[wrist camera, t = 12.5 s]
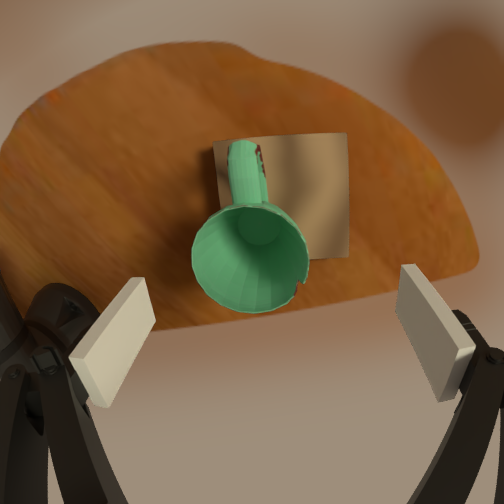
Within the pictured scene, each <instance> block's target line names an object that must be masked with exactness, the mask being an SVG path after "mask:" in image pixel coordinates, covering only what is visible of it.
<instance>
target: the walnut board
mask: <svg viewBox="0 0 504 504" xmlns="http://www.w3.org/2000/svg"><path fill="white" fill-rule="evenodd" d="M240 140H247V141H250V142H253V143H255V144H258V145H260V148H261V153H262V158H263V163H264V169H265V176H266V184H267V193H268V201H269V203H271V204H274V205H276V206H278V207H279V208H280V209H281V210H283V211H284V212H285V213H286V214H287V215H288V216H289V217H290V218H291V219H292V220H293V221H294V222H295V223H296V224H297V226H298V228H299V229H300V231H301V233H302V234H303V236H304V238H305V240H306V243H307V248H308V253H309V258H310V259H324V258H342V257H349V170H348V146H347V133H315V134H294V135H278V136H264V137H252V138H242V139H232V140H223V141H214V142H213V150H214V158H215V167H216V175H217V183H218V191H219V199H220V207H221V209H223V208H224V207H226V206H229V205H233V203H232V197H231V190H230V183H229V176H228V167H227V152H228V146H229V145H230V144H232V143H233V142H236V141H240Z"/></svg>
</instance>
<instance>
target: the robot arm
mask: <svg viewBox="0 0 504 504" xmlns="http://www.w3.org/2000/svg"><path fill="white" fill-rule="evenodd" d="M0 271H1V270H0ZM395 312H396V314H397V316H398V318H399V320H400V322H401V324H402V326H403V328H404V330H405V332H406V334H407V336H408V338H409V340H410V342H411V344H412V346H413V348H414V350H415V352H416V354H417V356H418V359H419V361H420V363H421V365H422V367H423V369H424V372H425V374H426V376H427V378H428V380H429V383H430V385H431V387H432V390H433V392H434V394H435V396H436V399H437V401H438V402H443V401H447V400H451V399H454V398H455V396H456V394H457V391H458V389H460V391H461V393H462V398H461V400H460V402H459V404H458V406H457V408H456V410H455V412H454V413H455V414H454V416H453V418H452V421H451V423H450V425H449V427H448V430H447V432H446V434H445V436H444V438H443V440H442V442H441V444H440V446H439V448H438V450H437V452H436V454H435V456H434V458H433V460H432V462H431V464H430V466H429V467H428V469H427V471H426V473H425V475H424V476H423V478H422V480H421V481H420V483H419V485H418V486H417V488H416V490H415V491H414V493H413V495H412V496H411V498H410V500H409V501H408V503H407V504H465V502H466V500H467V498H468V495H469V493H470V491H471V489H472V487H473V484H474V482H475V479H476V477H477V475H478V472H479V469H480V467H481V464H482V462H483V459H484V456H485V453H486V451H487V448H488V445H489V442H490V439H491V435H492V432H493V429H494V426H495V422H496V419H497V415H498V411H499V408H500V412H501V413H500V414H501V422H500V423H501V424H500V425H501V427H500V452H499V466H498V476H497V485H496V493H495V499H494V504H504V352H503V351H502V350H500V349H498V348H493V347H489V345H488V344H487V343H486V341H485V340H484V338H483V337H482V336H481V334H480V333H479V331H478V330H477V329H476V327H475V326H474V325H473V324H472V322H471V321H470V319H469V318H468V317H467V315H465V314H464V313H462V312H461V311H459V310H450V308H449V307H448V306H447V304H446V303H445V302H444V300H443V299H442V298H441V297H440V295H439V294H438V292H437V291H436V290H435V289H434V287H433V286H432V285H431V283H430V282H429V281H428V280H427V278H426V277H425V276H424V275H423V273H422V272H421V271H420V270H419V269H418V267H417V266H416V265H415V264H408V265H401V273H400V281H399V289H398V296H397V302H396V309H395ZM155 321H156V320H155V316H154V313H153V309H152V305H151V302H150V298H149V294H148V290H147V286H146V282H145V279H144V277H132V278H131V279H130V280H129V281H128V282H127V284H126V285H125V286H124V287H123V288H122V290H121V291H120V292H119V293H118V294H117V296H116V297H115V298H114V299H113V300H112V302H111V303H110V304H109V305H108V307H107V308H106V309H105V310H104V312H103V313H102V314H101V315H100V314H99V312H98V311H97V309H96V308H95V307H94V305H93V304H92V303H91V302H90V301H89V300H88V299H87V298H86V297H85V296H84V295H83V294H81V293H80V292H79V291H77V290H75V289H74V288H72V287H70V286H67V285H65V284H61V283H51V284H48V285H46V286H45V287H43V288H42V289H41V290H40V291H39V292H38V293H37V294H36V295H35V297H34V298H33V301H32V303H31V305H30V307H29V309H28V311H27V313H26V316H25V318H24V320H23V319H22V317H21V315H20V313H19V311H18V309H17V307H16V305H15V303H14V301H13V299H12V297H11V295H10V293H9V291H8V289H7V286H6V284H5V282H4V279H3V277H2V275H1V272H0V504H48V490H47V489H48V487H47V485H48V484H47V483H48V481H47V476H48V448H50V453H51V457H52V462H53V466H54V470H55V473H56V477H57V481H58V484H59V488H60V491H61V495H62V498H63V501H64V504H128V502H127V500H126V498H125V496H124V494H123V492H122V490H121V488H120V486H119V483H118V481H117V479H116V477H115V475H114V472H113V470H112V468H111V466H110V464H109V461H108V459H107V456H106V454H105V451H104V449H103V447H102V444H101V441H100V439H99V436H98V433H97V430H96V428H95V425H94V422H93V419H92V417H91V413H90V411H89V407H88V406H87V404H86V400H87V399H88V397H90V399H91V400H92V402H93V404H94V405H95V406H101V407H105V408H109V407H110V405H111V403H112V401H113V399H114V397H115V395H116V393H117V392H118V390H119V388H120V386H121V384H122V382H123V380H124V378H125V376H126V374H127V372H128V371H129V369H130V367H131V365H132V363H133V361H134V359H135V358H136V356H137V354H138V352H139V350H140V348H141V347H142V345H143V343H144V341H145V339H146V338H147V336H148V334H149V332H150V330H151V329H152V327H153V325H154V323H155Z"/></svg>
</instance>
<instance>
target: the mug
mask: <svg viewBox="0 0 504 504" xmlns="http://www.w3.org/2000/svg"><path fill="white" fill-rule="evenodd" d="M227 167H228V176H229V183H230V190H231V197H232V203H233V205H229V206H226V207H224V208H223V209H221V210H219V211H218V212H216V213H215V214H213V215H211V216H210V217H209V218H208V219H207V221H206V222H205V223H204V224H203V226H202V227H201V228H200V229H199V231H198V232H197V234H196V237H195V239H194V242H193V245H192V248H191V266H192V269H193V271H194V274H195V277H196V280H197V282H198V283H199V285H200V286H201V287H202V289H203V290H204V291H205V293H206V294H207V295H208V296H209V297H211V298H212V299H213V300H214V301H216V302H217V303H218V304H220V305H221V306H224V307H226V308H229V309H231V310H234V311H236V312H243V313H252V314H256V313H263V312H269V311H273V310H275V309H277V308H279V307H281V306H284V305H286V304H287V303H288V302H289V301H290V300H291V299H292V298H293V297H294V296H295V294H296V292H297V285H298V282H299V281H300V282H301V283H302V284H304V283H305V281H306V279H307V276H308V270H309V264H310V258H309V253H308V248H307V243H306V240H305V238H304V236H303V234H302V233H301V231H300V229H299V228H298V226H297V224H296V223H295V222H294V221H293V220H292V219H291V218H290V217H289V216H288V215H287V214H286V213H285V212H284V211H283V210H281V209H280V208H279V207H278V206H276V205H274V204H271V203H269V201H268V193H267V184H266V176H265V169H264V163H263V158H262V153H261V148H260V145H258V144H255V143H253V142H250V141H247V140H240V141H236V142H233V143H232V144H230V145H229V146H228V152H227Z"/></svg>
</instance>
